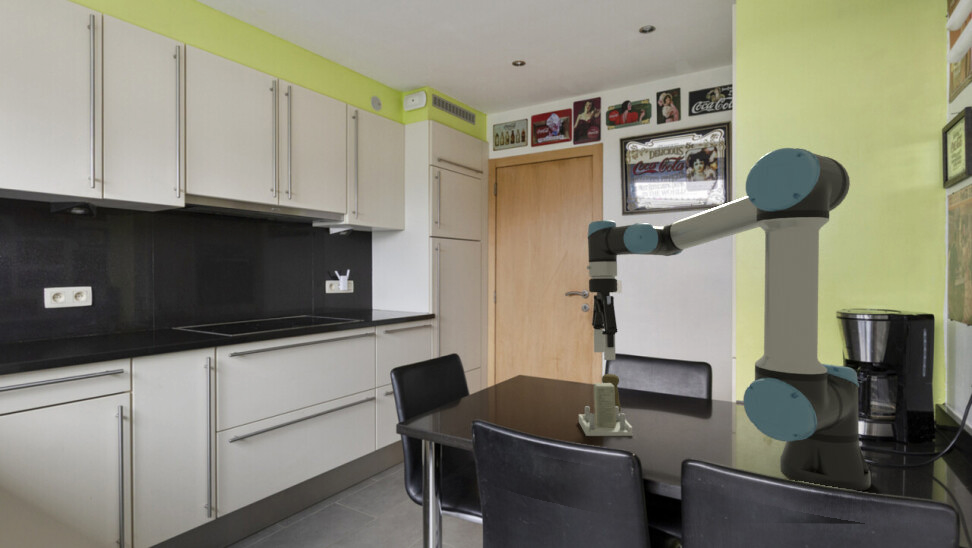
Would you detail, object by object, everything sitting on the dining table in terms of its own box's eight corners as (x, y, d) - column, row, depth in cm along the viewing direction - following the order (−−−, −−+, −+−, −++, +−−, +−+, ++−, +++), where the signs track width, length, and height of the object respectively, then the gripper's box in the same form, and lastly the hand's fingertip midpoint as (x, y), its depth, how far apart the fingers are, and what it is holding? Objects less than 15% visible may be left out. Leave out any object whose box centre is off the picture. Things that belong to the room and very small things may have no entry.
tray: (632, 435, 124) (632, 416, 124) (586, 435, 125) (586, 416, 125) (621, 422, 136) (620, 404, 136) (578, 422, 137) (578, 404, 137)
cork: (600, 411, 147) (599, 375, 147) (601, 406, 153) (601, 372, 153) (620, 413, 145) (620, 376, 146) (621, 408, 151) (620, 373, 151)
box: (612, 422, 132) (612, 382, 132) (616, 427, 128) (615, 386, 128) (593, 422, 133) (593, 382, 133) (596, 427, 128) (595, 386, 128)
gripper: (581, 278, 144) (582, 349, 143) (598, 277, 119) (599, 363, 118) (606, 278, 143) (607, 349, 143) (628, 277, 118) (630, 363, 118)
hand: (604, 355), depth 131 cm, fingers open, 13 cm apart
